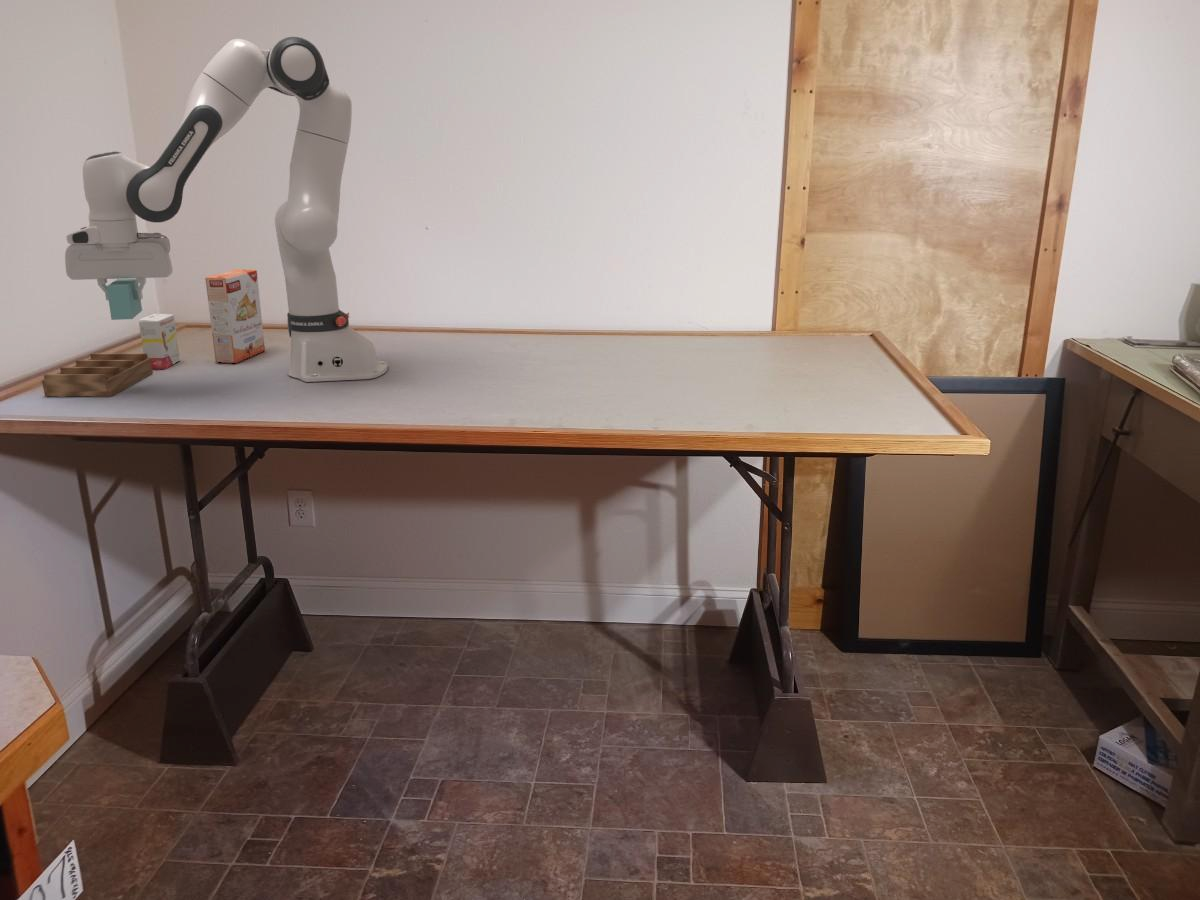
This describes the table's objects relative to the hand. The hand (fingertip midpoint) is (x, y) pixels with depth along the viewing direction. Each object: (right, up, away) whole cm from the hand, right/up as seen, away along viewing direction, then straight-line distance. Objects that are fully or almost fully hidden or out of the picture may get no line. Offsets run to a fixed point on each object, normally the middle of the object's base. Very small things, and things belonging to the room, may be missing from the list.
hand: (124, 299), depth 207 cm
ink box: (-4, -12, +27) cm, 30 cm away
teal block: (0, -3, +1) cm, 3 cm away
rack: (-10, -17, +10) cm, 23 cm away
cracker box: (+12, -9, +34) cm, 38 cm away
